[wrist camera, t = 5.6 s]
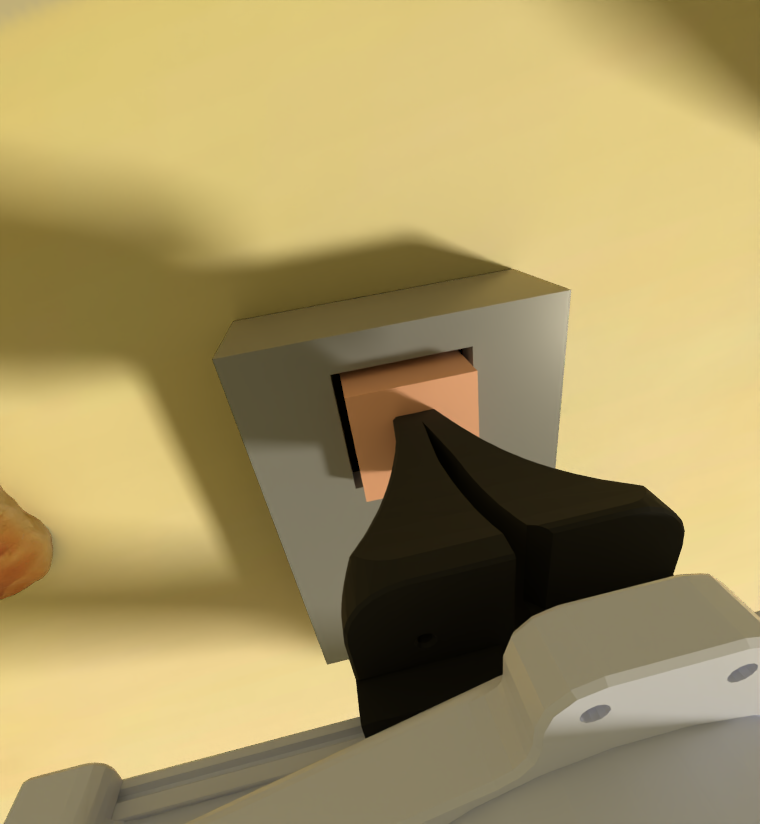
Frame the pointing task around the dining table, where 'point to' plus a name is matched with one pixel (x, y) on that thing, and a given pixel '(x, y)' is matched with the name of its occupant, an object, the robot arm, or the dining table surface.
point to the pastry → (21, 547)
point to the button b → (404, 406)
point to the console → (370, 346)
